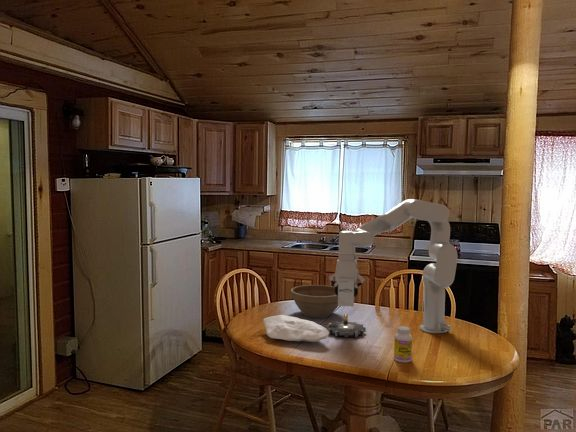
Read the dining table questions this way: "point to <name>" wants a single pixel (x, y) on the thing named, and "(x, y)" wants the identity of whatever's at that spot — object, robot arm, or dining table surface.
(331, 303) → the flower pot
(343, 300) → the supplement box
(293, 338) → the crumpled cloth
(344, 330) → the sprocket disc
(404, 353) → the supplement bottle
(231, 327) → the dining table surface
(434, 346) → the dining table surface
